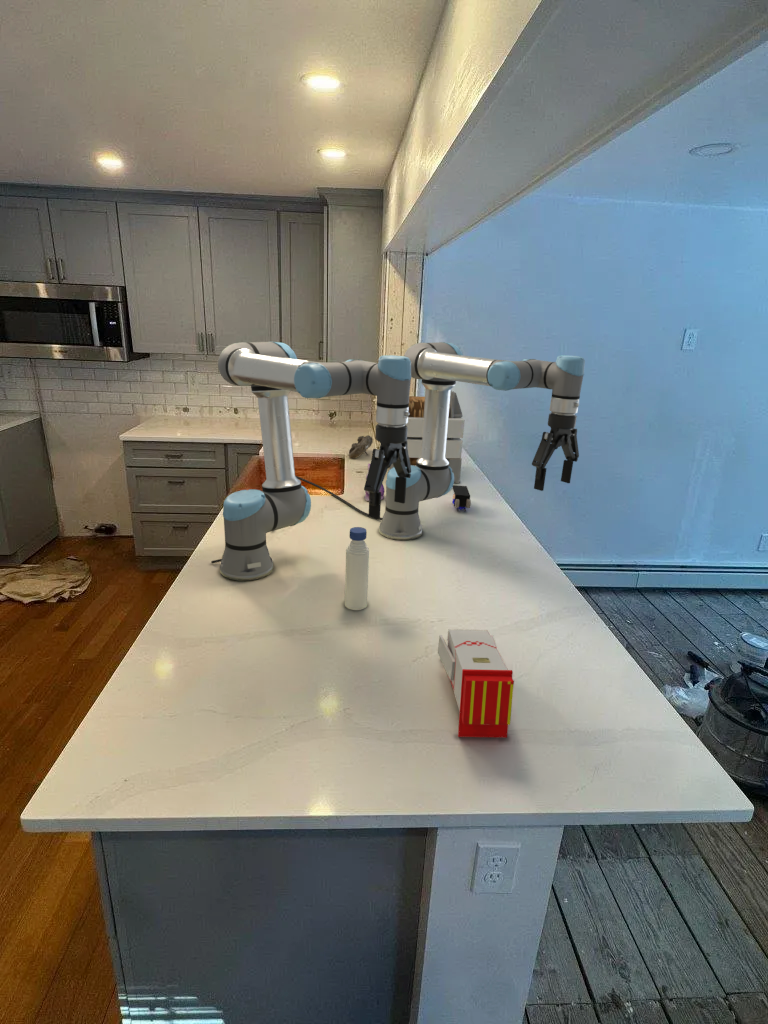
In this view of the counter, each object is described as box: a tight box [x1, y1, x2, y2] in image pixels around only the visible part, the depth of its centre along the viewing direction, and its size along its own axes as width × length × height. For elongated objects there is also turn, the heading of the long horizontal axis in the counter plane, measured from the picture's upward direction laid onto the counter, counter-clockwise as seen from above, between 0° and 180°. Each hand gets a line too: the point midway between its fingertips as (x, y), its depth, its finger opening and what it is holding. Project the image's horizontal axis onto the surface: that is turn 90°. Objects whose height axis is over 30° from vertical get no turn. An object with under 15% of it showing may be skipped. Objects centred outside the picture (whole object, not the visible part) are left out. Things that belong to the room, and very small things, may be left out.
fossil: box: [348, 435, 374, 460], centre depth 302 cm, size 22×10×15 cm
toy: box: [437, 628, 515, 738], centre depth 117 cm, size 12×13×30 cm
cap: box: [349, 526, 367, 541], centre depth 144 cm, size 4×4×2 cm
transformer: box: [389, 390, 465, 484], centre depth 268 cm, size 34×33×41 cm
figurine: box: [364, 462, 385, 502], centre depth 233 cm, size 9×10×15 cm
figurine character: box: [451, 484, 472, 513], centre depth 228 cm, size 7×8×15 cm
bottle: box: [344, 539, 370, 611], centre depth 148 cm, size 6×6×21 cm
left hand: (387, 509), depth 140 cm, fingers open, 13 cm apart
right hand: (552, 485), depth 166 cm, fingers open, 13 cm apart
